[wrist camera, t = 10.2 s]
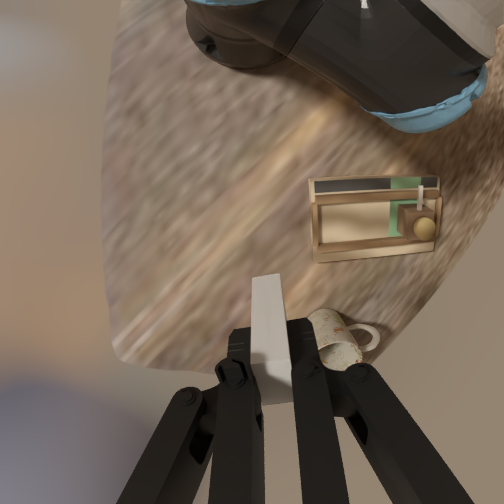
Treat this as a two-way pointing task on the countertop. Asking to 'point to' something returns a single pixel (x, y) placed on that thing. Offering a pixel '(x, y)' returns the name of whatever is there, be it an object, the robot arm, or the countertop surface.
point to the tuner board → (367, 215)
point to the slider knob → (416, 220)
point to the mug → (339, 340)
